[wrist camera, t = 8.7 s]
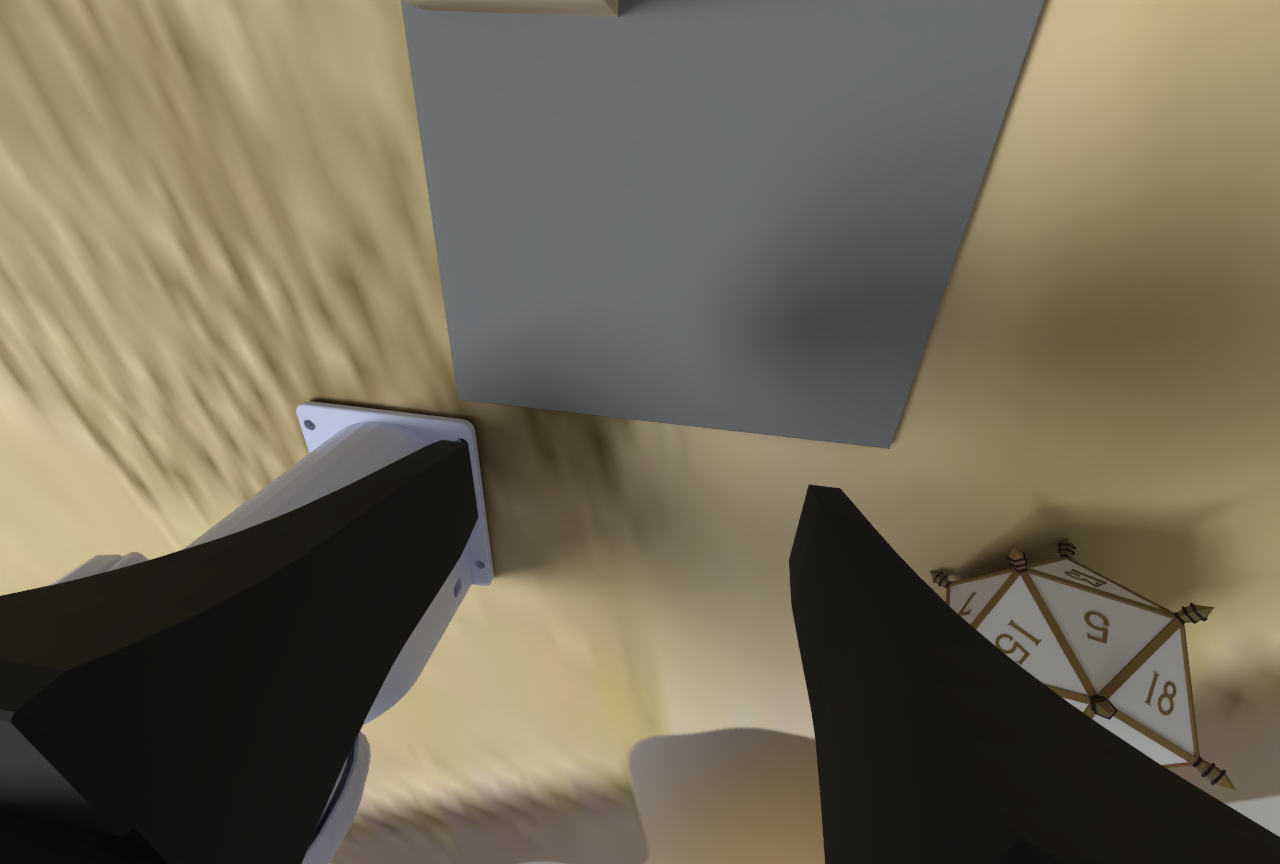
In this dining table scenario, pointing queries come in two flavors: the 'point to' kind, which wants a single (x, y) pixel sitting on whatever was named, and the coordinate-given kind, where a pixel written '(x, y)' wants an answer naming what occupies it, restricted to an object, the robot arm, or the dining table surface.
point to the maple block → (524, 6)
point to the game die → (1094, 649)
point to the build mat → (708, 201)
